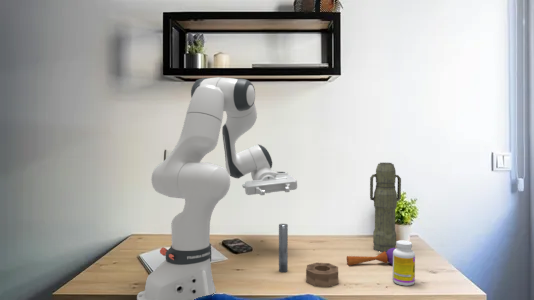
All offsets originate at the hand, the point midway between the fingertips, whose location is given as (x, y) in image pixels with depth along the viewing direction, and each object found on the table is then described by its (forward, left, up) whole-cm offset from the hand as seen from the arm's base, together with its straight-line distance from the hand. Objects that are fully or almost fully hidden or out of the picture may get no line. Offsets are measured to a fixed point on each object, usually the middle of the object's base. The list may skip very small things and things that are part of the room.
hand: (275, 191), depth 141 cm
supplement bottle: (+21, -40, -26) cm, 52 cm away
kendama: (+27, -24, -26) cm, 44 cm away
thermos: (+44, -15, -26) cm, 53 cm away
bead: (+1, -24, -26) cm, 35 cm away
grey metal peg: (-4, -10, -26) cm, 28 cm away
